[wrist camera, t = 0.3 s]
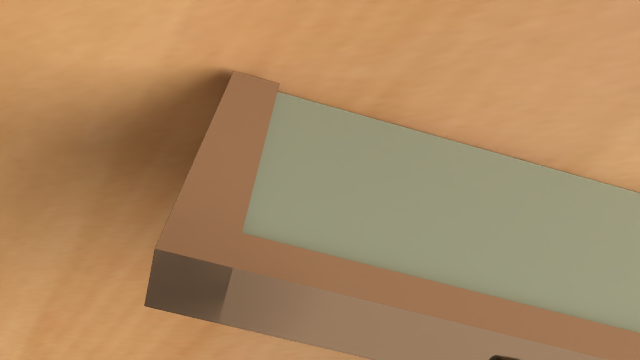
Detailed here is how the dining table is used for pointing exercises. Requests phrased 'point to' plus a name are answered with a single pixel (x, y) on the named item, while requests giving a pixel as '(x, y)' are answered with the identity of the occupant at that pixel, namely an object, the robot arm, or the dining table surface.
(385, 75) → the dining table surface
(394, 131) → the gate
